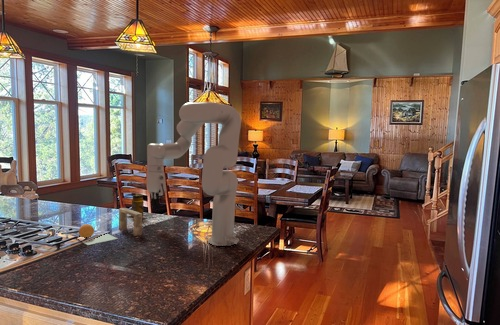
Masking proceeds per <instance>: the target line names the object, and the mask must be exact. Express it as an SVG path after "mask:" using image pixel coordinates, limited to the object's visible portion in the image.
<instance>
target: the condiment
mask: <svg viewBox="0 0 500 325" xmlns="http://www.w3.org/2000/svg"><path fill="white" fill-rule="evenodd" d="M131 210H133V211H136V212H139V213H142V219H144V218H146V216H145V215H144V196H143V194H133V195H132V200H131ZM127 219H129V220H134V216H131V215H127Z"/></svg>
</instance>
